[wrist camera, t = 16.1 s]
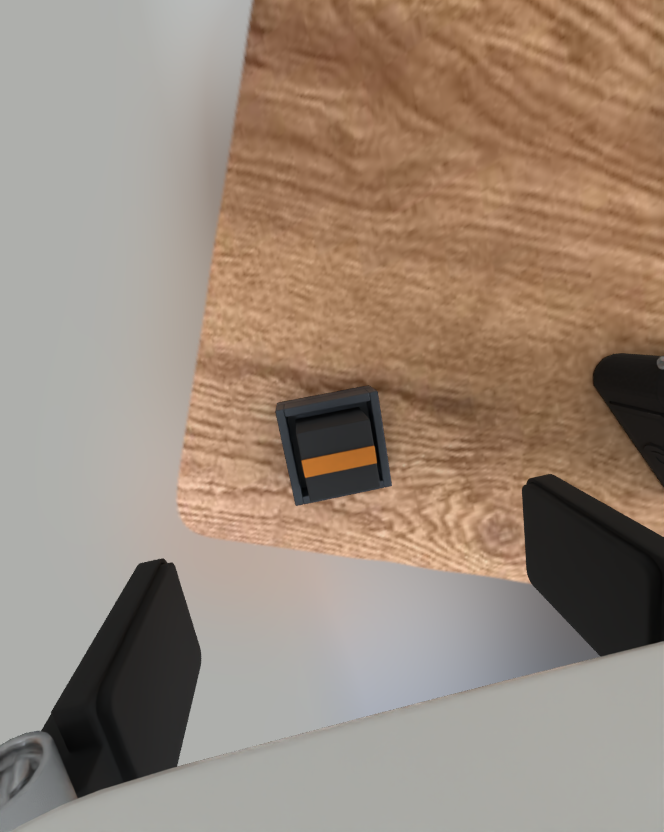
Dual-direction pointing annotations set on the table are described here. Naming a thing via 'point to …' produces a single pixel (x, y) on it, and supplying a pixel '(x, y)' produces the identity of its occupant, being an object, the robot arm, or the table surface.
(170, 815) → the robot arm
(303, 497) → the open box
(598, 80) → the table surface
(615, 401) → the camera
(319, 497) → the black orange striped cube
